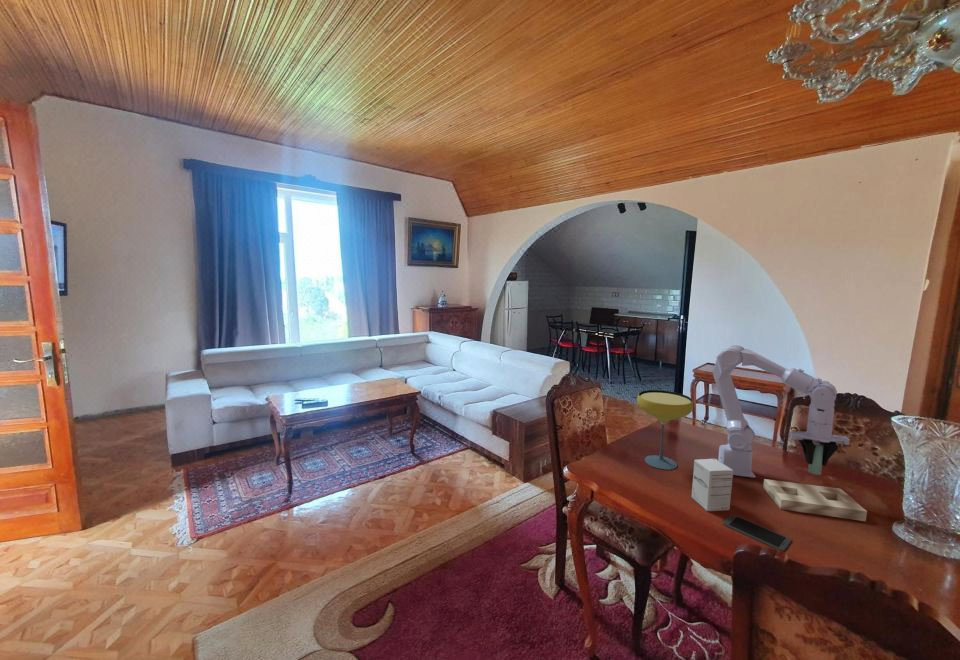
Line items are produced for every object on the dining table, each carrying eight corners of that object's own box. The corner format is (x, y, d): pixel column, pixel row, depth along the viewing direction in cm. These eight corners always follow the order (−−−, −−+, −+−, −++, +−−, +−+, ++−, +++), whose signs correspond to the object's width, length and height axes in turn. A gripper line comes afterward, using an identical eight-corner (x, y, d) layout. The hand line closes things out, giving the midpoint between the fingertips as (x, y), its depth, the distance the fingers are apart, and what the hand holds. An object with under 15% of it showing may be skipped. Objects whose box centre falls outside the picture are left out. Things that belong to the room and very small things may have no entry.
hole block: (780, 508, 111) (781, 499, 111) (763, 487, 122) (764, 479, 122) (865, 521, 105) (867, 511, 105) (839, 497, 117) (840, 488, 116)
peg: (811, 474, 117) (814, 446, 116) (806, 469, 120) (808, 442, 119) (823, 475, 116) (826, 447, 115) (817, 470, 119) (820, 443, 118)
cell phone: (731, 515, 109) (731, 513, 109) (792, 541, 98) (792, 539, 98) (720, 525, 104) (721, 522, 104) (783, 554, 93) (783, 551, 93)
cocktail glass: (635, 448, 151) (638, 387, 148) (686, 457, 144) (691, 393, 140) (632, 468, 135) (636, 401, 132) (690, 479, 127) (695, 408, 124)
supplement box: (690, 497, 117) (693, 458, 115) (713, 496, 118) (716, 457, 116) (706, 512, 110) (709, 470, 108) (730, 510, 110) (734, 469, 109)
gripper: (798, 423, 114) (794, 466, 116) (858, 428, 110) (852, 472, 112) (787, 415, 121) (783, 456, 123) (842, 420, 117) (838, 461, 119)
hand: (815, 463), depth 118 cm, fingers closed on peg, 3 cm apart
